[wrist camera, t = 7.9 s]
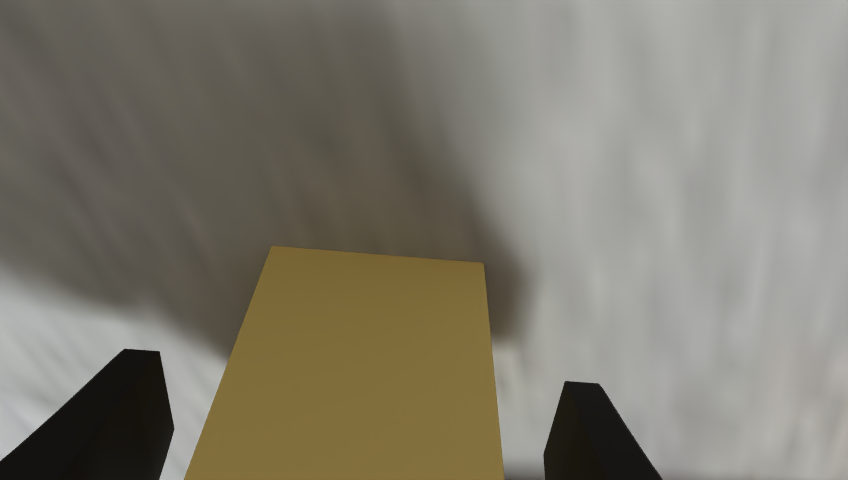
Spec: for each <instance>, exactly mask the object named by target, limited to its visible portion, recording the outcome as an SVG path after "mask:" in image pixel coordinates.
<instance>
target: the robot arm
mask: <svg viewBox="0 0 848 480" xmlns="http://www.w3.org/2000/svg"><path fill="white" fill-rule="evenodd" d="M173 432H174V424H173V419H172V414H171V409H170V404H169V398H168V393H167V388H166V383H165V377H164V372H163V367H162V362H161V356H160V351H148V350H134V349H124V350H122V351H121V352H120V353H119V354H118V355H117V356H116V357H114V358H113V359H112V360H111V361H110V362H109V363H108V364H107V365H106V366H105V367H104V368H103V369H102V370H101V371H100V372H98V373H97V374H96V375H95V376H94V377H93V378H92V379H91V380H90V381H89V382H88V383H87V384H86V385H85V386H84V387H83V388H82V389H80V390H79V391H78V392H77V393H76V394H75V395H74V396H73V397H72V398H71V399H70V400H69V401H68V402H67V403H65V404H64V405H63V406H62V407H61V408H60V409H59V410H58V411H57V412H56V413H55V414H53V415H52V416H51V417H50V418H49V419H48V420H47V421H46V422H45V423H43V424H42V425H41V426H40V427H39V428H38V429H37V430H36V431H34V432H33V433H32V434H31V435H30V436H29V437H28V438H27V439H26V440H24V441H23V442H22V443H21V444H20V445H19V446H18V447H16V448H15V449H14V450H13V451H12V452H11V453H9V454H8V455H7V456H6V457H5V458H3V459H2V460H1V461H0V480H159V478H160V475H161V472H162V469H163V466H164V463H165V460H166V456H167V453H168V449H169V446H170V443H171V439H172V436H173ZM544 468H545V480H663V479H662V478H661V476H660V475H659V474H658V472H657V471H656V469H655V468H654V467H653V465H652V464H651V462H650V461H649V459H648V458H647V456H646V455H645V453H644V452H643V450H642V449H641V447H640V446H639V444H638V443H637V441H636V440H635V438H634V437H633V435H632V434H631V432H630V431H629V429H628V428H627V426H626V425H625V423H624V421H623V420H622V418H621V417H620V415H619V414H618V412H617V410H616V409H615V407H614V406H613V404H612V402H611V401H610V399H609V398H608V396H607V394H606V393H605V391H604V390H603V388H602V387H601V386H600V385H599V384H597V383H584V382H570V381H565V383H564V386H563V390H562V393H561V397H560V400H559V403H558V407H557V410H556V414H555V417H554V421H553V424H552V427H551V431H550V434H549V438H548V441H547V444H546V448H545V451H544Z"/></svg>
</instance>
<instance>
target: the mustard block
mask: <svg viewBox="0 0 848 480" xmlns="http://www.w3.org/2000/svg"><path fill="white" fill-rule="evenodd" d="M184 480H504V469H503V459H502V448H501V438H500V428H499V417H498V407H497V396H496V386H495V376H494V365H493V355H492V344H491V334H490V324H489V313H488V303H487V292H486V282H485V271H484V263H478V262H466V261H454V260H441V259H429V258H417V257H404V256H392V255H380V254H368V253H355V252H343V251H331V250H318V249H306V248H294V247H281V246H271V249H270V251H269V254H268V257H267V259H266V262H265V265H264V267H263V270H262V273H261V275H260V278H259V281H258V283H257V286H256V289H255V291H254V294H253V297H252V299H251V302H250V305H249V307H248V310H247V313H246V315H245V318H244V321H243V323H242V326H241V329H240V331H239V334H238V337H237V339H236V342H235V345H234V347H233V350H232V353H231V355H230V358H229V361H228V363H227V366H226V369H225V371H224V374H223V377H222V379H221V382H220V385H219V387H218V390H217V393H216V395H215V398H214V401H213V403H212V406H211V409H210V411H209V414H208V417H207V419H206V422H205V425H204V427H203V430H202V433H201V435H200V438H199V441H198V443H197V446H196V449H195V451H194V454H193V457H192V459H191V462H190V465H189V467H188V470H187V473H186V475H185V478H184Z"/></svg>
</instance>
